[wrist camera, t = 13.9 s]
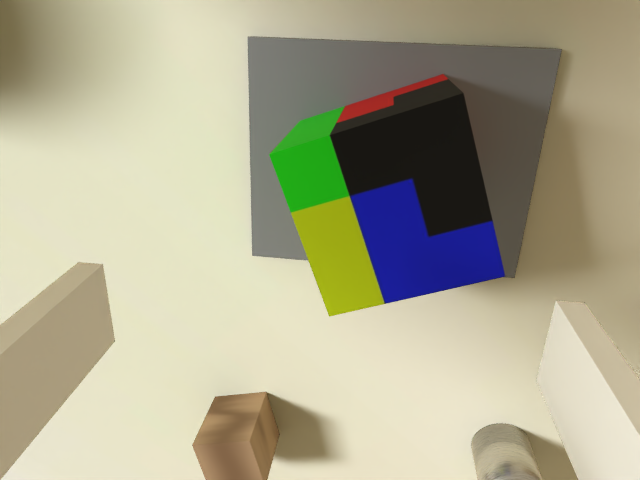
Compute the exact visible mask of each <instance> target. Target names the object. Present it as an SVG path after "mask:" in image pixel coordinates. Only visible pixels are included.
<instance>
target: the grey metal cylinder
mask: <svg viewBox="0 0 640 480" xmlns="http://www.w3.org/2000/svg"><path fill="white" fill-rule="evenodd" d="M471 448H472V453H473V458H474V463H475V469H476V474H477V479H478V480H542V477H541V474H540V471H539V468H538V465H537V462H536V459H535V456H534V453H533V450H532V447H531V444H530V441H529V438H528V436H527V435H526V434H525V432H524V431H522V430H521V429H520V428H518V427H516V426H513V425H510V424H502V423H500V424H492V425H488V426H486V427H484V428H482V429H480V430H479V431H478V432H477V433H476V434H475V435H474V437H473V439H472V443H471Z"/></svg>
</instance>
